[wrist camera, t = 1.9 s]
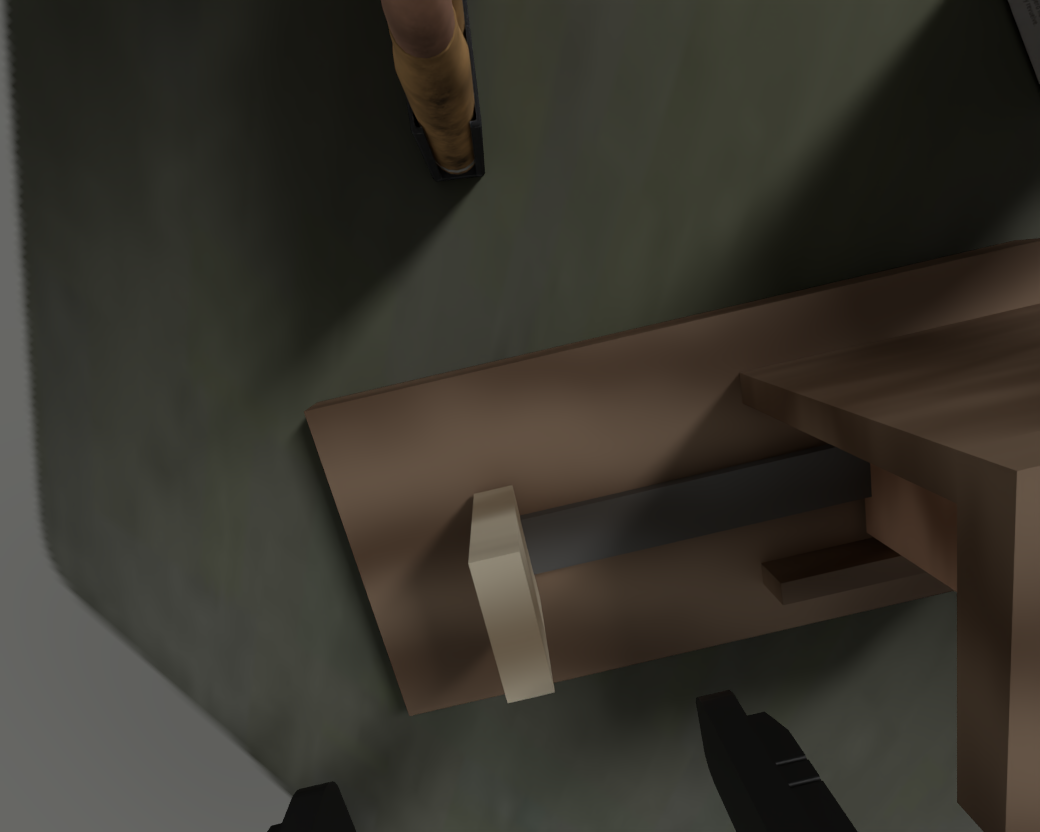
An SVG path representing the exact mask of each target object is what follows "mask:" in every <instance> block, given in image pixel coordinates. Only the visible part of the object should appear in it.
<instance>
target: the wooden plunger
mask: <svg viewBox="0 0 1040 832" xmlns="http://www.w3.org/2000/svg"><path fill="white" fill-rule="evenodd" d="M864 498H865V510H866V529H867V533H868V534H870V535H871V536H873V537H874V538H876V539H877V540H879V541H880V542H882V543H883V544H885V545H886V546H888V547H889V548H891V549H892V550H894V551H895V552H897V553H898V554H900V555H901V556H903V557H905V558H906V559H908V560H909V561H911V562H912V563H914V564H915V565H917V566H918V567H920V568H921V569H923V570H924V571H926V572H927V573H929V574H930V575H932V576H933V577H935V578H936V579H938V580H939V581H941V582H943V583H944V584H946V585H947V586H949V587H950V588H952V589H953V590H955V591H956V592H957V504H956V503H954V502H952V501H950V500H948V499H946V498H944V497H941V496H939V495H937V494H935V493H933V492H931V491H929V490H927V489H924V488H922V487H920V486H918V485H916V484H914V483H912V482H909V481H907V480H905V479H903V478H901V477H899V476H897V475H895V474H892V473H890V472H888V471H886V470H884V469H882V468H880V467H877V466H875V465H873V464H871V463H869V462H867V461H865V460H863V459H860V458H858V457H856V456H854V455H852V454H850V453H848V452H845V451H843V450H841V449H839V448H837V447H835V446H833V445H831V444H827V445H823V446H818V447H814V448H810V449H805V450H801V451H797V452H792V453H788V454H784V455H779V456H775V457H771V458H766V459H762V460H758V461H753V462H749V463H745V464H740V465H736V466H732V467H728V468H723V469H719V470H715V471H710V472H706V473H702V474H697V475H693V476H689V477H684V478H680V479H676V480H671V481H667V482H663V483H658V484H654V485H650V486H645V487H641V488H637V489H632V490H628V491H624V492H619V493H615V494H611V495H606V496H602V497H598V498H594V499H589V500H585V501H581V502H576V503H572V504H568V505H563V506H559V507H555V508H550V509H546V510H542V511H537V512H533V513H529V514H524V515H520V514H519V510H518V506H517V502H516V498H515V494H514V490H513V486H512V485H510V486H506V487H502V488H497V489H493V490H489V491H485V492H480V493H476V494H474V500H473V512H472V524H471V536H470V548H469V560H468V564H469V568H470V571H471V575H472V578H473V582H474V586H475V589H476V593H477V596H478V600H479V603H480V607H481V610H482V614H483V617H484V621H485V625H486V628H487V632H488V635H489V639H490V642H491V646H492V649H493V653H494V656H495V660H496V664H497V667H498V671H499V674H500V678H501V681H502V685H503V688H504V692H505V695H506V699H507V702H508V703H511V702H515V701H520V700H524V699H528V698H533V697H537V696H541V695H546V694H550V693H554V692H555V691H554V684H553V678H552V671H551V665H550V659H549V652H548V646H547V639H546V633H545V627H544V620H543V614H542V607H541V601H540V595H539V591H538V587H537V583H536V579H535V574H539V573H544V572H548V571H552V570H556V569H561V568H565V567H569V566H574V565H578V564H582V563H587V562H591V561H595V560H600V559H604V558H608V557H613V556H617V555H621V554H626V553H630V552H634V551H639V550H643V549H647V548H652V547H656V546H660V545H665V544H669V543H673V542H678V541H682V540H686V539H691V538H695V537H699V536H704V535H708V534H712V533H717V532H721V531H725V530H730V529H734V528H738V527H743V526H747V525H751V524H756V523H760V522H764V521H769V520H773V519H777V518H782V517H786V516H790V515H795V514H799V513H803V512H808V511H812V510H816V509H821V508H825V507H829V506H834V505H838V504H842V503H847V502H851V501H855V500H860V499H864Z"/></svg>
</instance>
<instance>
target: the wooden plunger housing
mask: <svg viewBox="0 0 1040 832" xmlns="http://www.w3.org/2000/svg"><path fill="white" fill-rule="evenodd" d="M304 413H305V416H306V419H307V422H308V425H309V428H310V431H311V434H312V437H313V439H314V442H315V445H316V448H317V451H318V454H319V457H320V460H321V462H322V465H323V468H324V471H325V474H326V477H327V480H328V483H329V486H330V488H331V491H332V494H333V497H334V500H335V503H336V506H337V509H338V512H339V514H340V517H341V520H342V523H343V526H344V529H345V532H346V535H347V537H348V540H349V543H350V546H351V549H352V552H353V555H354V558H355V561H356V563H357V566H358V569H359V572H360V575H361V578H362V581H363V584H364V587H365V589H366V592H367V595H368V598H369V601H370V604H371V607H372V610H373V612H374V615H375V618H376V621H377V624H378V627H379V630H380V633H381V636H382V638H383V641H384V644H385V647H386V650H387V653H388V656H389V659H390V661H391V664H392V667H393V670H394V673H395V676H396V679H397V682H398V685H399V687H400V690H401V693H402V696H403V699H404V702H405V705H406V708H407V711H408V713H409V716H412V715H416V714H421V713H425V712H429V711H434V710H438V709H442V708H447V707H451V706H455V705H460V704H464V703H469V702H473V701H477V700H482V699H486V698H490V697H495V696H499V695H503V694H505V692H504V688H503V685H502V681H501V678H500V674H499V671H498V667H497V664H496V660H495V656H494V653H493V649H492V646H491V642H490V639H489V635H488V632H487V628H486V625H485V621H484V617H483V614H482V610H481V607H480V603H479V600H478V596H477V593H476V589H475V586H474V582H473V578H472V575H471V571H470V568H469V564H468V560H469V548H470V536H471V524H472V512H473V500H474V494H476V493H480V492H485V491H489V490H493V489H497V488H502V487H506V486H510V485H512V486H513V490H514V494H515V498H516V502H517V506H518V510H519V514H520V515H524V514H529V513H533V512H537V511H542V510H546V509H550V508H555V507H559V506H563V505H568V504H572V503H576V502H581V501H585V500H589V499H594V498H598V497H602V496H606V495H611V494H615V493H619V492H624V491H628V490H632V489H637V488H641V487H645V486H650V485H654V484H658V483H663V482H667V481H671V480H676V479H680V478H684V477H689V476H693V475H697V474H702V473H706V472H710V471H715V470H719V469H723V468H728V467H732V466H736V465H740V464H745V463H749V462H753V461H758V460H762V459H766V458H771V457H775V456H779V455H784V454H788V453H792V452H797V451H801V450H805V449H810V448H814V447H818V446H823V445H827V444H831V445H833V446H835V447H837V448H839V449H841V450H843V451H845V452H848V453H850V454H852V455H854V456H856V457H858V458H860V459H863V460H865V461H867V462H869V463H871V464H873V465H875V466H877V467H880V468H882V469H884V470H886V471H888V472H890V473H892V474H895V475H897V476H899V477H901V478H903V479H905V480H907V481H909V482H912V483H914V484H916V485H918V486H920V487H922V488H924V489H927V490H929V491H931V492H933V493H935V494H937V495H939V496H941V497H944V498H946V499H948V500H950V501H952V502H954V503H956V504H957V803H958V804H959V805H960V806H961V807H962V808H963V809H964V810H965V811H966V813H967V814H968V815H969V816H970V817H971V818H972V819H973V820H974V821H975V823H976V824H977V825H978V826H979V827H980V828H981V829H982V830H983V831H984V832H1040V238H1038V239H1026V240H1015V241H1010V242H1006V243H1002V244H997V245H993V246H989V247H984V248H980V249H976V250H971V251H967V252H963V253H958V254H954V255H950V256H946V257H941V258H937V259H933V260H928V261H924V262H920V263H915V264H911V265H907V266H903V267H898V268H894V269H890V270H885V271H881V272H877V273H872V274H868V275H864V276H859V277H855V278H851V279H847V280H842V281H838V282H834V283H829V284H825V285H821V286H816V287H812V288H808V289H804V290H799V291H795V292H791V293H786V294H782V295H778V296H773V297H769V298H765V299H760V300H756V301H752V302H748V303H743V304H739V305H735V306H730V307H726V308H722V309H717V310H713V311H709V312H704V313H700V314H696V315H692V316H687V317H683V318H679V319H674V320H670V321H666V322H661V323H657V324H653V325H649V326H644V327H640V328H636V329H631V330H627V331H623V332H618V333H614V334H610V335H605V336H601V337H597V338H593V339H588V340H584V341H580V342H575V343H571V344H567V345H562V346H558V347H554V348H550V349H545V350H541V351H537V352H532V353H528V354H524V355H519V356H515V357H511V358H506V359H502V360H498V361H494V362H489V363H485V364H481V365H476V366H472V367H468V368H463V369H459V370H455V371H451V372H446V373H442V374H438V375H433V376H429V377H425V378H420V379H416V380H412V381H407V382H403V383H399V384H395V385H390V386H386V387H382V388H377V389H373V390H369V391H364V392H360V393H356V394H351V395H347V396H343V397H339V398H334V399H330V400H326V401H321V402H317V403H316V404H314V405H313V406H311V407H310V408H308V409H307V410H305V411H304ZM535 579H536V583H537V587H538V591H539V595H540V601H541V607H542V614H543V620H544V627H545V633H546V639H547V646H548V652H549V659H550V665H551V671H552V678H553V683H555V682H560V681H564V680H568V679H573V678H577V677H581V676H586V675H590V674H594V673H599V672H603V671H607V670H612V669H616V668H620V667H625V666H629V665H633V664H638V663H642V662H647V661H651V660H655V659H660V658H664V657H668V656H673V655H677V654H681V653H686V652H690V651H694V650H699V649H703V648H707V647H712V646H716V645H720V644H725V643H729V642H733V641H738V640H742V639H746V638H751V637H755V636H759V635H764V634H768V633H772V632H777V631H781V630H785V629H790V628H794V627H798V626H803V625H807V624H811V623H816V622H820V621H825V620H829V619H833V618H838V617H842V616H846V615H851V614H855V613H859V612H864V611H868V610H872V609H877V608H881V607H885V606H890V605H894V604H898V603H903V602H907V601H911V600H916V599H920V598H924V597H929V596H933V595H937V594H942V593H946V592H950V591H955V590H953V589H952V588H950V587H949V586H947V585H946V584H944V583H943V582H941V581H939V580H938V579H936V578H935V577H933V576H932V575H930V574H929V573H927V572H926V571H924V570H923V569H921V568H920V567H918V566H917V565H915V564H914V563H912V562H911V561H909V560H908V559H906V558H905V557H903V556H901V555H900V554H898V553H897V552H895V551H894V550H892V549H891V548H889V547H888V546H886V545H885V544H883V543H882V542H880V541H879V540H877V539H876V538H874V537H873V536H871V535H870V534H868V533H867V529H866V510H865V498H864V499H860V500H855V501H851V502H847V503H842V504H838V505H834V506H829V507H825V508H821V509H816V510H812V511H808V512H803V513H799V514H795V515H790V516H786V517H782V518H777V519H773V520H769V521H764V522H760V523H756V524H751V525H747V526H743V527H738V528H734V529H730V530H725V531H721V532H717V533H712V534H708V535H704V536H699V537H695V538H691V539H686V540H682V541H678V542H673V543H669V544H665V545H660V546H656V547H652V548H647V549H643V550H639V551H634V552H630V553H626V554H621V555H617V556H613V557H608V558H604V559H600V560H595V561H591V562H587V563H582V564H578V565H574V566H569V567H565V568H561V569H556V570H552V571H548V572H544V573H539V574H535Z"/></svg>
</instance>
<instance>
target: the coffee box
mask: <svg viewBox="0 0 1040 832" xmlns="http://www.w3.org/2000/svg"><path fill="white" fill-rule="evenodd" d="M1008 2H1009V5H1010V8H1011V11H1012V14H1013V16H1014V19H1015V21H1016V24H1017V26H1018V29H1019V31H1020V34H1021V37H1022V40H1023V42H1024V45H1025V48H1026V50H1027V53H1028V55H1029V58H1030V61H1031V63H1032V66H1033V68H1034V71H1035V74H1036V76H1037V79H1038V81H1039V84H1040V0H1008Z"/></svg>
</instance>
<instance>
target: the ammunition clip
mask: <svg viewBox="0 0 1040 832" xmlns="http://www.w3.org/2000/svg"><path fill="white" fill-rule="evenodd" d="M381 3H382V8H383V11H384V14H385V17H386V19H387V22H388V27H389V33H390V36H391V39H392V43H393V58H394V64H395V70H396V73H397V75H398V78H399V80H400V82H401V85H402V87H403V89H404V92H405V94H406V100H407V106H408V113H409V119H410V126H411V131H412V133H413V136H414V138H415V140H416V142H417V144H418V146H419V149H420V151H421V153H422V155H423V157H424V159H425V162H426V164H427V166H428V168H429V170H430V172H431V175H432V177H433V179H434V180H435V181H444V180H452V179H461V178H470V177H478V176H483V175H484V174H485V167H484V153H483V138H482V123H481V115H480V107H479V98H478V90H477V82H476V74H475V66H474V58H473V49H472V41H471V33H470V25H469V17H468V8H467V0H381Z"/></svg>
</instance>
